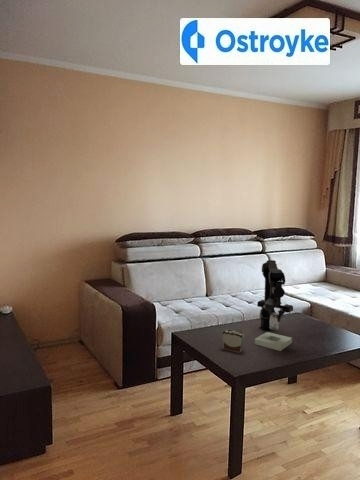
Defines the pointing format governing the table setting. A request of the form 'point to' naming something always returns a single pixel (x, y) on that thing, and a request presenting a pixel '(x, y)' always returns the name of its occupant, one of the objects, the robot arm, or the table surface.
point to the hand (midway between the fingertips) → (274, 321)
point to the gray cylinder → (274, 321)
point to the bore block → (273, 341)
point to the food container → (232, 340)
